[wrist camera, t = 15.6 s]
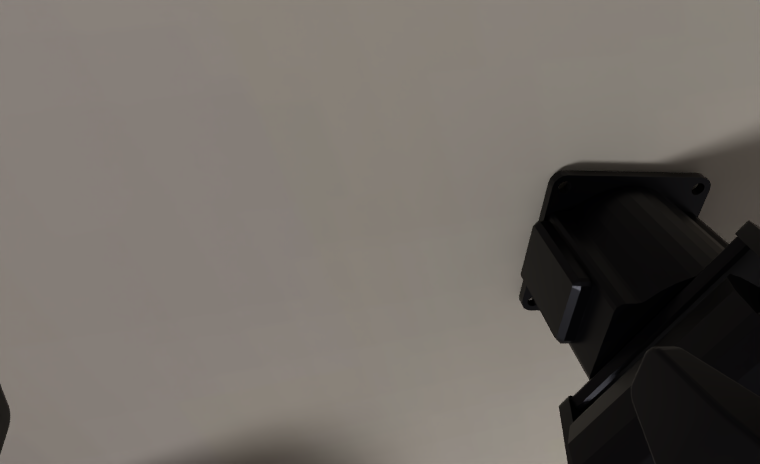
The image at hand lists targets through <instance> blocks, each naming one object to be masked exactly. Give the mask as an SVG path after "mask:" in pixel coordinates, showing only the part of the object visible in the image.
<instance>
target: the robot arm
mask: <svg viewBox="0 0 760 464" xmlns="http://www.w3.org/2000/svg"><path fill="white" fill-rule="evenodd" d="M565 181H567V184H566V186H564V187H563V188H558V187H559V185H560V184H561V183H562V182H565ZM696 184H698V185H697V187H696V188H694V189H693V190H692V188H693V187H694V186H695V185H696ZM710 186H711V184H710V181H709V180H708V179H707V178H706V177H704V176H703V175H702V174H699V173H668V172H613V171H559V172H557V173H555V174H554V175H553V176H552V177H551V178H550V180H549V182H548V186H547V190H546V194H545V198H544V202H543V206H542V210H541V213H540V217H539V221H538V222H536V224H535V225H534V226H533V228H532V232H531V236H530V240H529V244H528V248H527V252H526V256H525V260H524V264H523V268H522V272H521V277H522V278H523V283H522V287H521V291H520V295H519V300H520V302H521V304H522V305H523V307H524V308H525V309H526V310H540V311H541V313H542V315H543V317H544V319H545V321H546V322H547V324H548V326H549V328H550V330H551V332H552V333H553V335H554V337H555V338H556V339H557V340H558V341H559V342H560V343H569V345H570V347H571V348H572V350H573V352H574V354H575V355H576V357H577V359H578V361H579V362H580V364H581V366H582V368H583V369H584V371H585V373H586V375H587V376H588V378H589V381H588V382H587V383H586V384H585V385H584V386H583V387H582V388H581V389H580V390H579V391H578V392H577V393H576V394H575V395H574V396H569V397H568V398H567V399H566V400H565V401H564V402H563V403H561V404H560V405H559V410H560V417H561V423H562V429H563V436H564V442H565V449H566V455H567V461H568V464H760V227H759V226H757V225H756V224H754V223H752V222H751V221H748V222H746V223H745V224H744V225H743V226H742V227H741V228H740V229H739V230H738V231H737V232H736V233H735V234H736V235H737V237H736V238H735V239H734V240H733V241H732V242H731V243H730V244H728V243H727V242H726V241H725V240H723V239H722V238H721V237H720V236H719V235H718V234H716V233H715V232H714V231H713V230H712V229H711V228H710V227H708V226H707V225H706V224H705V223H704V222H703V221H701V220H700V219H699V218H698V215H699V213H700V211H701V208H702V206H703V204H704V201H705V199H706V197H707V194H708V192H709V190H710ZM531 297H533V299H532V300H529V299H530V298H531ZM9 423H10V409H9V405H8V403H7V400H6V398H5V395H4V393H3V390H2V387H1V385H0V453H1V450H2V447H3V444H4V441H5V438H6V434H7V431H8V428H9Z"/></svg>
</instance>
